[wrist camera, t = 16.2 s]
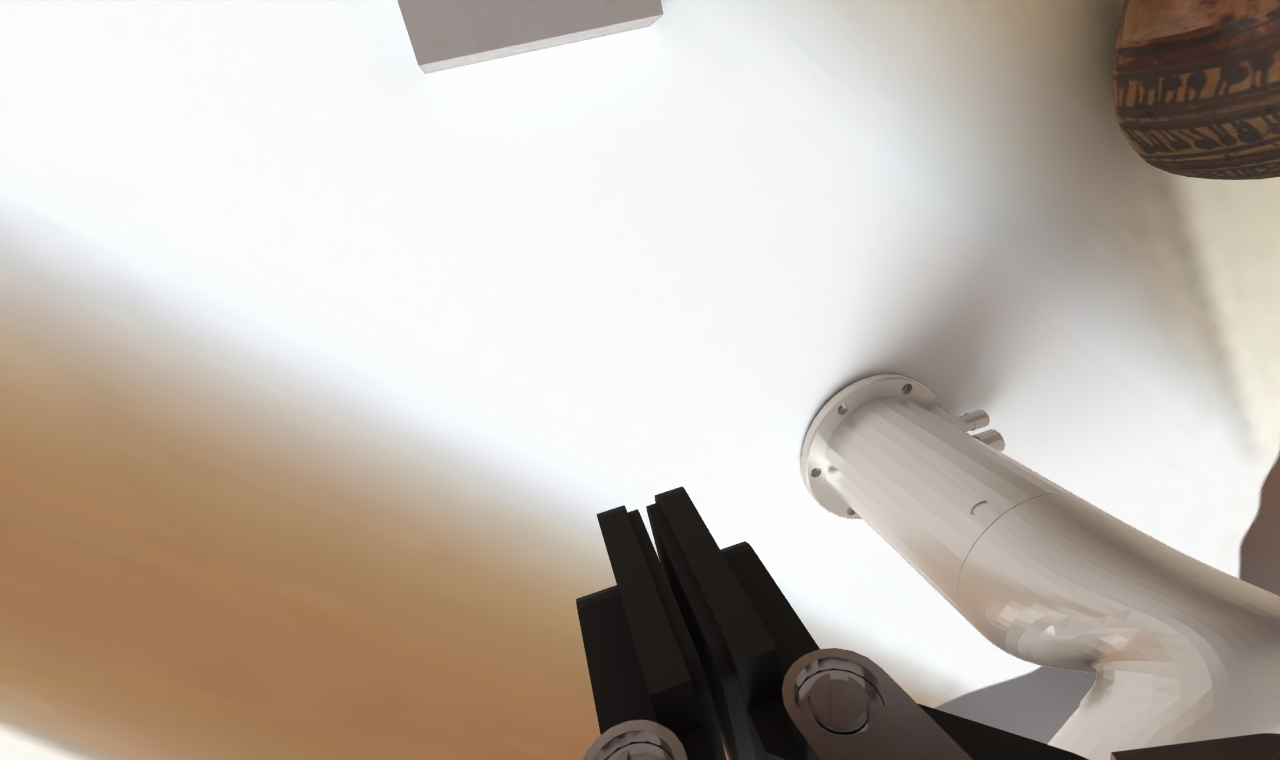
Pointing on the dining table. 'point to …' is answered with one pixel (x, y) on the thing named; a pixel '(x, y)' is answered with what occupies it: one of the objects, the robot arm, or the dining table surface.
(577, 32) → the socket plate
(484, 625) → the dining table surface
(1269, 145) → the vase
